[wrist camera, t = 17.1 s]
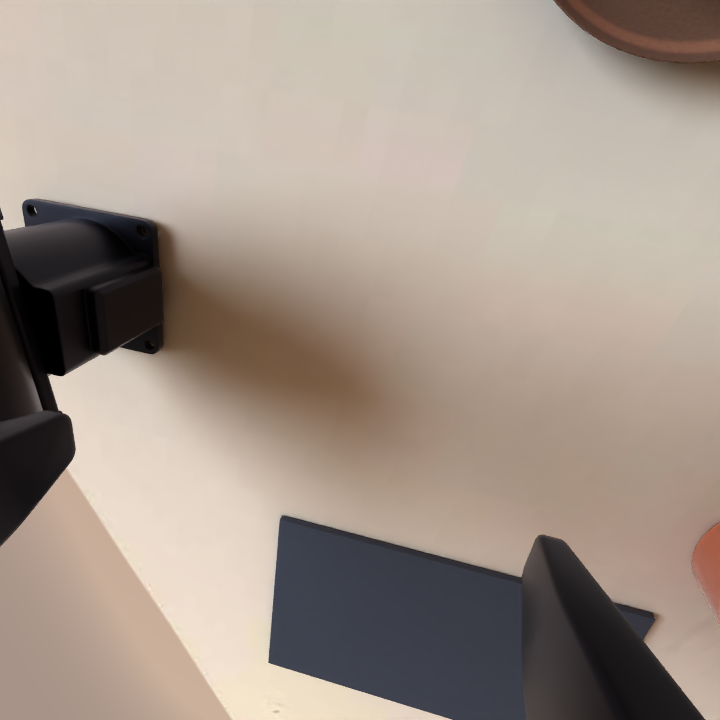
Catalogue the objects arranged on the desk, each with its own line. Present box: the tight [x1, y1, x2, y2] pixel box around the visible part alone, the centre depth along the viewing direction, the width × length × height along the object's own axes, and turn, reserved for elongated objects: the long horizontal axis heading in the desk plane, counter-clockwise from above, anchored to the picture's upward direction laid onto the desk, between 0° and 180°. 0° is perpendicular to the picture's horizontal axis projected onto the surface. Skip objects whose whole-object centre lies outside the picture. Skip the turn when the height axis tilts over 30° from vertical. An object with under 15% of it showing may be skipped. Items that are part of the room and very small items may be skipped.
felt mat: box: [268, 516, 655, 720], centre depth 28 cm, size 20×13×1 cm, turn 82°
